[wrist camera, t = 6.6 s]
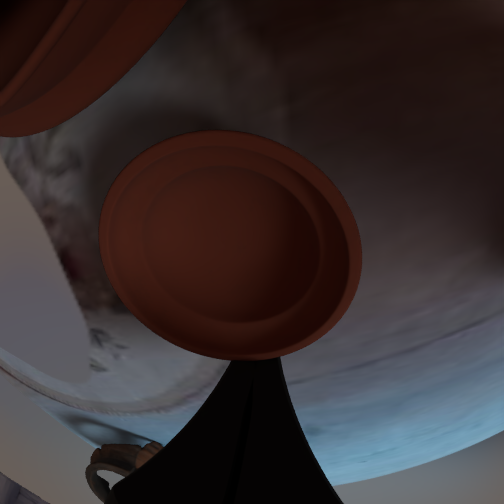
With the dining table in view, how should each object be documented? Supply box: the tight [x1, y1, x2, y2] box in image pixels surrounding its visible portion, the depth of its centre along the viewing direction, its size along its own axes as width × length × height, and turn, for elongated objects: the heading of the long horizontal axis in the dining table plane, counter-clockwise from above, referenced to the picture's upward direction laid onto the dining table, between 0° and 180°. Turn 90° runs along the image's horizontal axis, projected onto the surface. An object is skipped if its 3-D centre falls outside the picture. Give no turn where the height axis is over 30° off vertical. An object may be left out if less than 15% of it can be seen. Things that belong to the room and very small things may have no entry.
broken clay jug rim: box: [85, 441, 163, 502], centre depth 21 cm, size 12×9×8 cm
